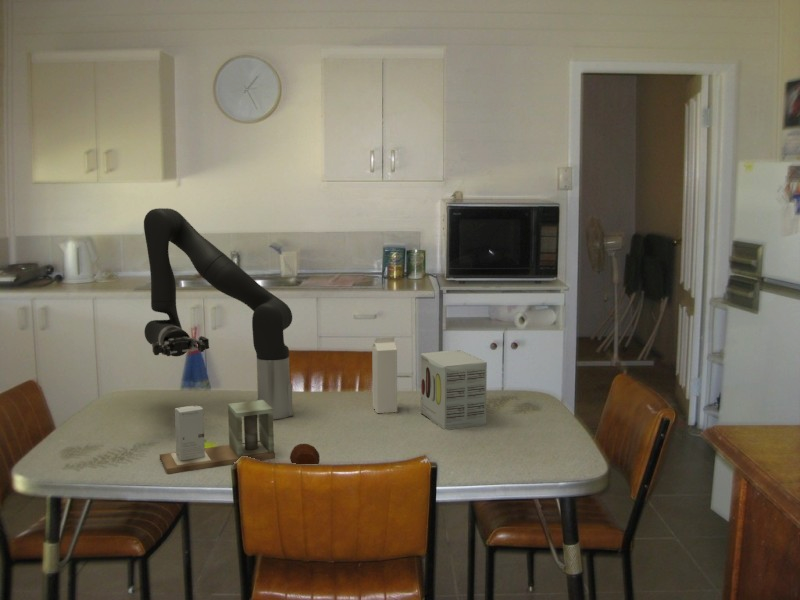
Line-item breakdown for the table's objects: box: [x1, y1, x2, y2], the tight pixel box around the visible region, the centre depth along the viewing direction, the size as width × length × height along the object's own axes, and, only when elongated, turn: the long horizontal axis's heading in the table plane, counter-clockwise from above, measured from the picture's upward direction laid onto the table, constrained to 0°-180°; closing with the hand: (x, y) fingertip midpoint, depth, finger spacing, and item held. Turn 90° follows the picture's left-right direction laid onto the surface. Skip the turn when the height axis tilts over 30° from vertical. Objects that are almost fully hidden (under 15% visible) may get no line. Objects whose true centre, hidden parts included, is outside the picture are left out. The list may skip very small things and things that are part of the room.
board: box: [159, 399, 276, 475], centre depth 202 cm, size 26×11×12 cm, turn 115°
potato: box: [289, 443, 320, 464], centre depth 195 cm, size 7×9×6 cm
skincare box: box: [174, 404, 206, 461], centre depth 199 cm, size 6×4×12 cm
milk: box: [371, 336, 398, 414], centre depth 242 cm, size 6×6×22 cm
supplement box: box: [420, 349, 488, 430], centre depth 234 cm, size 17×13×18 cm
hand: (185, 350), depth 213 cm, fingers open, 8 cm apart
